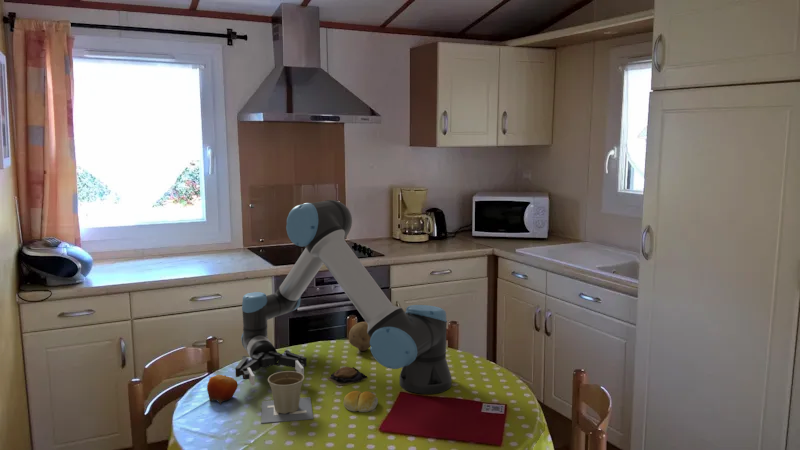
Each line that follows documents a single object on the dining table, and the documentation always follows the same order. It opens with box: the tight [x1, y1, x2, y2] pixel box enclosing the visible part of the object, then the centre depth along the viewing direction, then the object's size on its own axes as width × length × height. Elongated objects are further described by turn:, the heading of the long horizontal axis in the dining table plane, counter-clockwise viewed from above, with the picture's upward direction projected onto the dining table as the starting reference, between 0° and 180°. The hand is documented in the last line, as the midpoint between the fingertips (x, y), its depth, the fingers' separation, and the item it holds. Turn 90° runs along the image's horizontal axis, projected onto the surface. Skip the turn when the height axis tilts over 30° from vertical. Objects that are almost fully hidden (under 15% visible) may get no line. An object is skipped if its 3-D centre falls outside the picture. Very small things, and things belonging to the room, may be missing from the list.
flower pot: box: [267, 370, 305, 414], centre depth 161 cm, size 9×9×9 cm
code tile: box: [260, 396, 314, 424], centre depth 162 cm, size 13×13×1 cm
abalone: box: [326, 366, 368, 387], centre depth 183 cm, size 11×8×4 cm
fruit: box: [206, 374, 239, 406], centre depth 168 cm, size 8×8×8 cm
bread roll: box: [343, 390, 379, 413], centre depth 164 cm, size 8×9×4 cm
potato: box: [348, 321, 371, 352], centre depth 206 cm, size 9×9×10 cm
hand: (278, 376), depth 168 cm, fingers open, 13 cm apart
